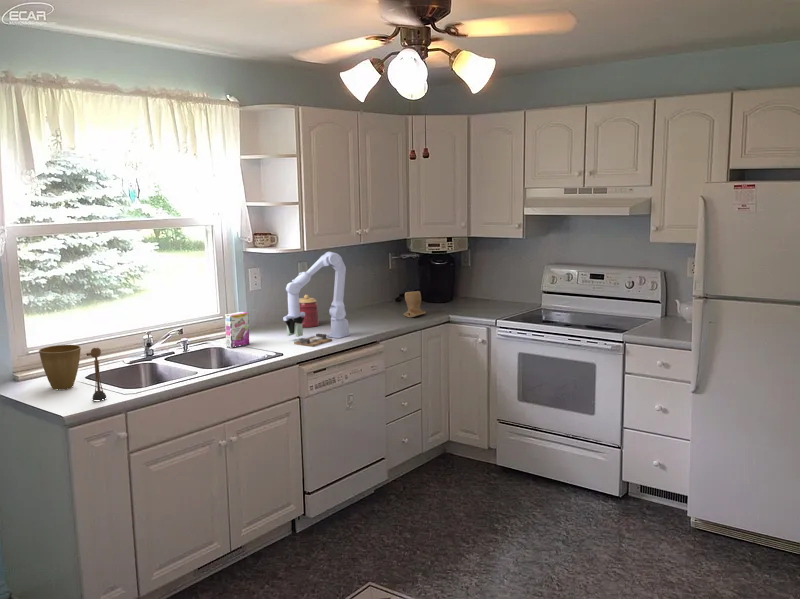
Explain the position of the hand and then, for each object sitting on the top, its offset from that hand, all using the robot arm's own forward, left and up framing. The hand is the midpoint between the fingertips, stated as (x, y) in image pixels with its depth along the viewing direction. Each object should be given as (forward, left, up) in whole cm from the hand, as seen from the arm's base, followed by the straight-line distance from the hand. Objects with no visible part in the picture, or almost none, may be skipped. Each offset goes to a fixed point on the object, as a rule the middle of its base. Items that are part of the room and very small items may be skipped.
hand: (294, 332), depth 363 cm
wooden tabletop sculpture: (+115, +3, -4) cm, 115 cm away
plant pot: (+112, -24, -4) cm, 114 cm away
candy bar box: (+23, -17, -4) cm, 29 cm away
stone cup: (-88, +17, -5) cm, 90 cm away
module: (0, 0, -2) cm, 2 cm away
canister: (-34, -20, -4) cm, 40 cm away
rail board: (-1, +11, -4) cm, 12 cm away
